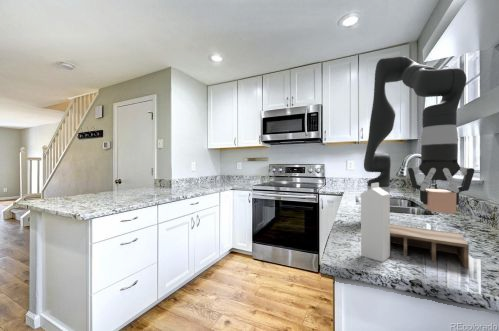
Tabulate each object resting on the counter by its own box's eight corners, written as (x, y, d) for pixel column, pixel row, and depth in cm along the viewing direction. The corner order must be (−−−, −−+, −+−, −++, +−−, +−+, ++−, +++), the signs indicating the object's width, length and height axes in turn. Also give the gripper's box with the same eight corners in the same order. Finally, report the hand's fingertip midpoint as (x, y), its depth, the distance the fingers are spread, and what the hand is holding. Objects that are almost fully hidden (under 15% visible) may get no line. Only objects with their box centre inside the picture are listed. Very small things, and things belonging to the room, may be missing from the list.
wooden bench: (382, 240, 79) (382, 223, 79) (460, 253, 67) (460, 233, 67) (378, 250, 70) (378, 231, 70) (468, 268, 57) (468, 244, 57)
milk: (360, 256, 66) (359, 183, 66) (369, 250, 70) (368, 181, 70) (383, 262, 61) (382, 184, 61) (390, 256, 65) (389, 182, 65)
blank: (423, 205, 66) (423, 188, 66) (444, 206, 63) (445, 189, 63) (430, 211, 57) (430, 192, 57) (456, 213, 54) (456, 193, 54)
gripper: (472, 142, 58) (471, 205, 59) (406, 145, 67) (406, 200, 67) (480, 140, 52) (479, 211, 52) (406, 144, 61) (406, 204, 61)
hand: (438, 204), depth 60 cm, fingers closed on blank, 5 cm apart
